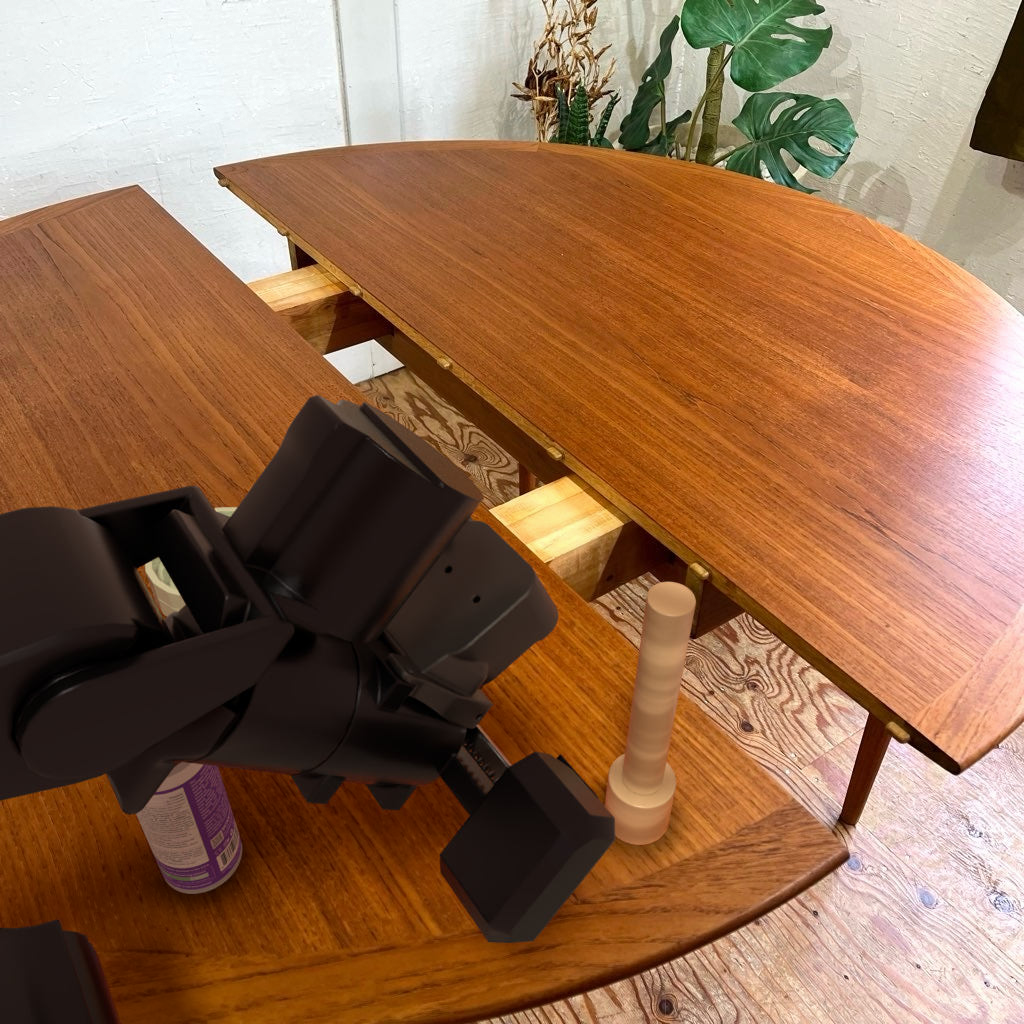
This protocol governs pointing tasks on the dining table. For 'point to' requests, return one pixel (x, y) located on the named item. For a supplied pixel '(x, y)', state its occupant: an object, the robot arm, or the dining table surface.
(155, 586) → the bowl
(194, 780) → the container
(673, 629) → the pestle
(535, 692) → the dining table surface
